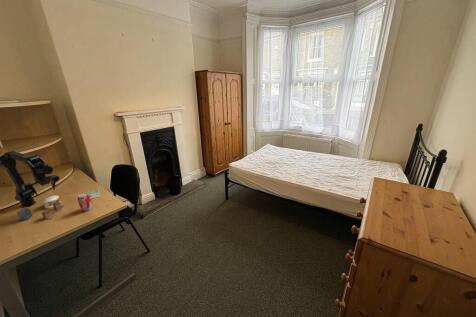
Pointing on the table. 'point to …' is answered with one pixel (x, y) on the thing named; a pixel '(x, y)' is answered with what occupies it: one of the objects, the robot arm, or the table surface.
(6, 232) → the table surface
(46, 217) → the notched board
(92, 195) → the handheld gaming console
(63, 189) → the table surface
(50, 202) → the bobbin
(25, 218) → the gray rectangular block
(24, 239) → the table surface
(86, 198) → the soda can
